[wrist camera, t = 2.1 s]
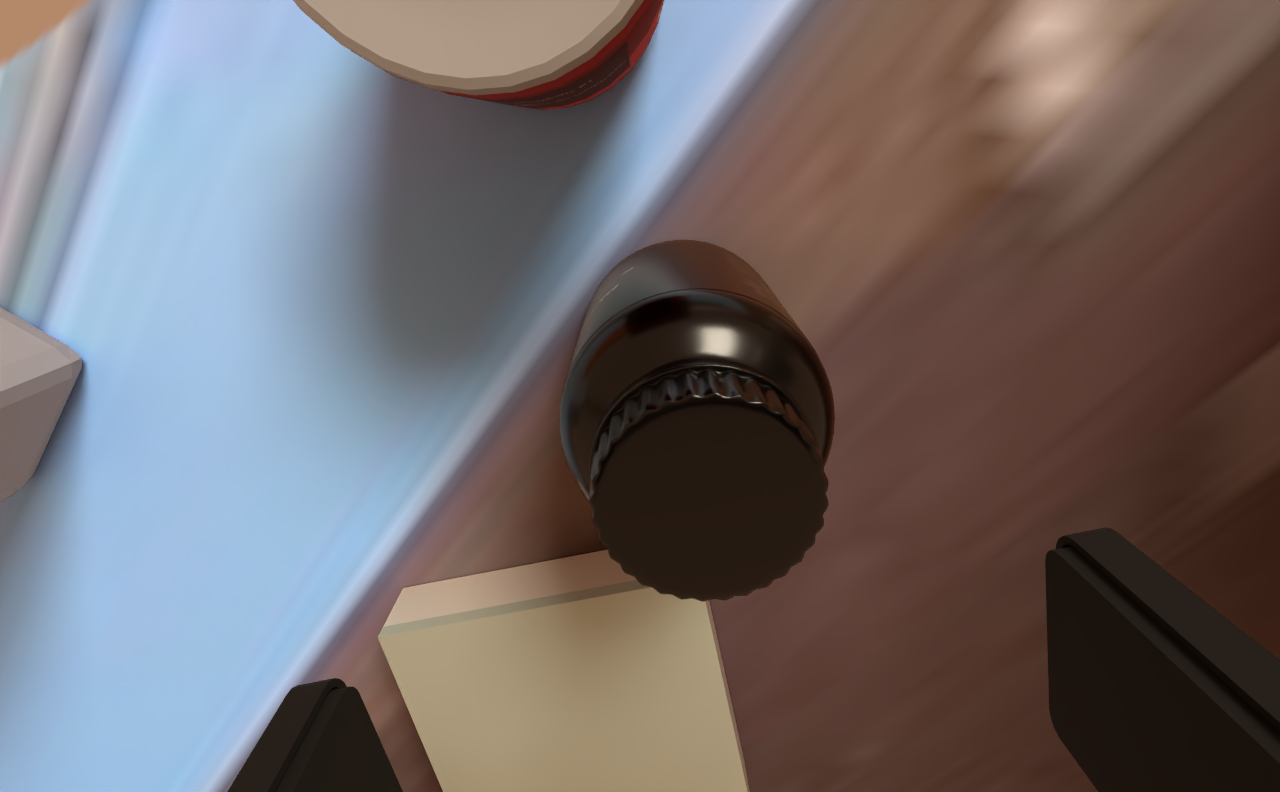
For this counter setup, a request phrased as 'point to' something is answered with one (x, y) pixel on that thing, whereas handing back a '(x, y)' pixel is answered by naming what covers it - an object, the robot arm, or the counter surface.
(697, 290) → the supplement bottle
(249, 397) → the counter surface
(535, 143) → the counter surface
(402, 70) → the canned food
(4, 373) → the soap bottle
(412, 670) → the plate
